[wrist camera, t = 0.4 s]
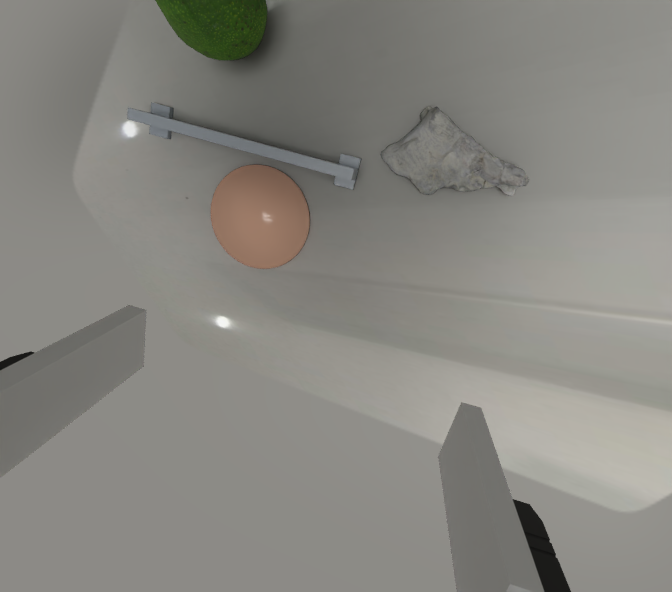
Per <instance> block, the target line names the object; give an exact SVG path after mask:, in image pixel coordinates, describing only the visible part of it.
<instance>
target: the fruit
mask: <svg viewBox="0 0 672 592" xmlns="http://www.w3.org/2000/svg"><path fill="white" fill-rule="evenodd" d="M155 1H156V2H157V4H158V6H159V7H160V9H161V11H162V12H163V14H164V16H165V17H166V19H167V21H168V22H169V24H170V26H171V27H172V28H173V30H174V31H175V33H176V34H177V35H178V37H179V38H181V39H182V40H183V41H184V42H185V43H186V44H187V45H188V46H190V47H191V48H193V49H195V50H196V51H198V52H200V53H201V54H203V55H205V56H207V57H209V58H213V59H217V60H238V59H241V58H243V57H246V56H248V55H250V54H251V53H252V52H253V51H254V50H256V49H257V47H258V45H259V44H260V42H261V40H262V37H263V34H264V31H265V26H266V20H267V6H266V0H155Z"/></svg>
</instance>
